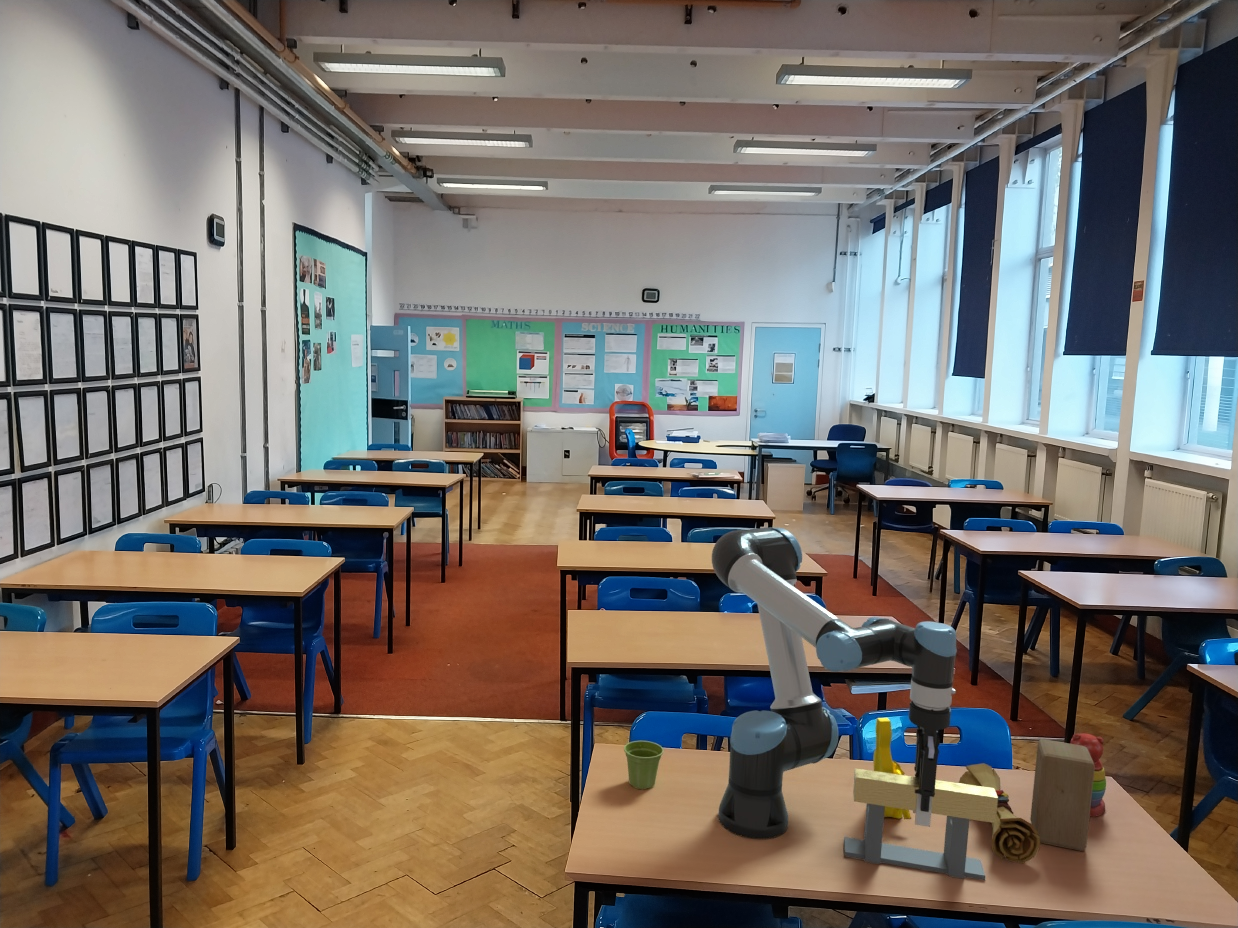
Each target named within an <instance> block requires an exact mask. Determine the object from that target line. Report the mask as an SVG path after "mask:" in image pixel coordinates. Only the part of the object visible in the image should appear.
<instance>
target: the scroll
mask: <svg viewBox="0 0 1238 928" xmlns="http://www.w3.org/2000/svg"><path fill="white" fill-rule="evenodd" d="M965 769H966V770H967V771H965V772H964V773H963V774H962V775H961V776H960V778H959V781H958V783H961V784H968V785H975V786H982V787H989V788H994V789H995V792H996V794H997V797H998V803H997V814H996V823H992V822H987V823H988V824H989V825H990V826H991V827H992V836H991V841H990V843H991V848H992V852H993V853H994V854H996V856H999V857H1000V858H1001V859H1004V858H1005V859H1006V860H1007V861H1010V862H1014V863H1019V864H1020V863H1021V864H1025V863H1027V862H1028V861H1030V860H1032V859H1033V858H1035V856H1036V855H1037V854H1038V853H1037V852H1038V851H1039V849H1040V848H1041V843H1040V837H1039V836H1038V835H1036V834H1039V833H1038V832H1037V830H1036V829H1035V827H1034V826H1033V825H1032V824H1031V822H1029V821H1027V820H1025V819H1023V818H1022V817H1017V816H1015V814H1014V812H1013V810H1012V807H1011V806H1010V804H1009V802H1010V799H1009V798H1010V797H1009V795H1008V794H1007V793H1006V792H1005V791H1004V790H1003V789H1001V777H1000V775H998V773H997V772H996V770H995V768H993V767H992V766H991V765H989V764H986V763H985V762H983V763H978V764H977V763H976V764H970V765H966V766H965Z"/></svg>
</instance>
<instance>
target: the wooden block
mask: <svg viewBox="0 0 1238 928" xmlns="http://www.w3.org/2000/svg"><path fill="white" fill-rule="evenodd" d="M1036 748H1037V749H1036V759H1035V768H1034V779H1033V789H1032V798H1031V799H1032V800H1031V809H1030V810H1031V811H1030V818H1029V821H1030V823H1031V824H1032V825H1033V826H1034V827H1035V829H1036V830H1037V832H1038V833H1039V834H1036V835H1038V836H1039V837H1040V844H1041V843H1042V844H1045V845H1051V846H1055V847H1061V848H1065V849H1071V850H1074V851H1080V852H1083V851H1085V850H1086V848H1087V842H1088V836H1089V835H1088V834H1089V824H1090V807H1091V798H1092V789H1093V779H1094V770H1095V765H1094V762H1093V760H1092V758H1091V756H1090V753H1089V751H1088V749H1087V747H1085V746H1081V745H1075V744H1070V743H1067V742H1063V741H1057V740H1051V739H1045V738H1041V739H1039V740H1038V742H1037V747H1036Z"/></svg>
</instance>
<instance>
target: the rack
mask: <svg viewBox="0 0 1238 928" xmlns="http://www.w3.org/2000/svg"><path fill="white" fill-rule="evenodd" d="M884 811H885V806H881V805H874V804H867V803H866V806H865V817H864V819H865V820H864V821H865V822H864V833H863V839H860V838H853V837H848V836H844V839H843V847H844V848H843V849H844V857H846V858H851V859H852V858H853V859H858V860H864V862H865V863H869V864H870V863H871V864H878V865H881V864H888V865H893V866H899V867H905V868H909V869H915V870H916V869H917V870H922V871H928V872H934V873H938V874H945V875H947V876H948V877H950V878H951V877H952V878H957V879H963V880H964V879H965V878H969V879H974V880H980V881H986V872H985V870H984V867H983V863H982V860H981V859H980V858H973V857H968V856H967V851H968V841H969V840H968V838H969V831H970V821H971V819H966V818H959V817H953V816H946V823H945V824H946V825H945V834H944V844H943V845H944V846H943V852H938V851H933V850H927V849H926V850H925V849H919V848H914V847H908V846H907V847H906V846H903V845H902V846H901V845H897V844H891V843H890V844H889V843H884V842H883V836H884V835H883V834H884V833H883V832H884V822H885V817H884Z"/></svg>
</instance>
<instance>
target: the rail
mask: <svg viewBox="0 0 1238 928" xmlns="http://www.w3.org/2000/svg"><path fill="white" fill-rule="evenodd" d="M853 779H854V781H853V793H852V794H853V802H856V803H863V804H866V805H867V804H874V805H881V806H887V807H894V808H900V809H907V810H909V811H912V812H913V811H916V803H917V793H915V789H917V790H918V789H919V777H915V776H911V775H906V774H904V775H898V774H891V773H884V772H877V771H874V770H868V769H862V768H854V778H853ZM997 803H998V797H997V794H996V792H995V789H994V788H989V787H982V786H975V785H968V784H961V783H959V782H955V781H954V782H953V781H946V780H939V779H936V781H935V795H934V797H932V809H931V814H934V815H940V816H946V817H947V816H953V817H959V818H966V819H970V820H972V821H973V820H974V821H980V822H986V823H988V822H992V823H996V814H997Z"/></svg>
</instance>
